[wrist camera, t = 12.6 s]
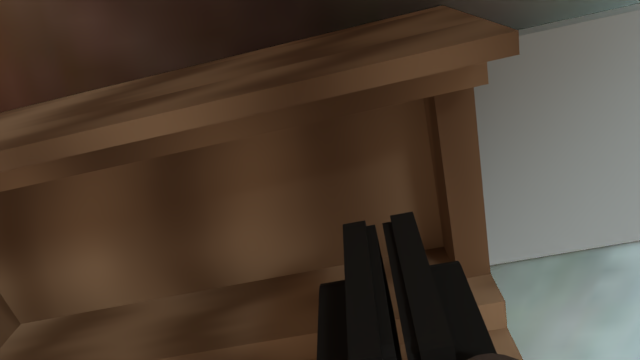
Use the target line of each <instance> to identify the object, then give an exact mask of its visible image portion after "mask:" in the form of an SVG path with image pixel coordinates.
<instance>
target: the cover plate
mask: <svg viewBox="0 0 640 360" xmlns="http://www.w3.org/2000/svg"><path fill="white" fill-rule="evenodd" d="M519 52H520V55H515V56H511V57H506V58H502V59H498V60H493V61H489V62H487V70H488V83H489V84H486V85H481V86H477V87H474V96H475V107H476V118H477V129H478V140H479V151H480V162H481V173H482V184H483V196H484V207H485V218H486V229H487V240H488V251H489V262H490V265H496V264H502V263H508V262H514V261H520V260H526V259H532V258H538V257H544V256H550V255H556V254H562V253H568V252H574V251H580V250H586V249H592V248H598V247H604V246H610V245H616V244H622V243H628V242H634V241H640V3H639V4H634V5H630V6H625V7H620V8H616V9H611V10H607V11H602V12H598V13H593V14H589V15H584V16H580V17H575V18H571V19H566V20H561V21H557V22H552V23H548V24H543V25H539V26H534V27H530V28H525V29H521V30H519Z"/></svg>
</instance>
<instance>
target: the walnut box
mask: <svg viewBox="0 0 640 360" xmlns="http://www.w3.org/2000/svg"><path fill="white" fill-rule="evenodd" d="M515 55H520V52H519V30H516V29H513V28H510V27H507V26H504V25H501V24H498V23H495V22H492V21H489V20H486V19H483V18H480V17H477V16H474V15H471V14H468V13H465V12H462V11H459V10H456V9H453V8H449V7H446V6H443V5H441V6H437V7H433V8H429V9H425V10H421V11H417V12H413V13H408V14H404V15H400V16H396V17H392V18H388V19H384V20H380V21H375V22H371V23H367V24H363V25H359V26H355V27H351V28H347V29H343V30H338V31H334V32H330V33H326V34H322V35H318V36H314V37H310V38H306V39H301V40H297V41H293V42H289V43H285V44H281V45H277V46H273V47H269V48H264V49H260V50H256V51H252V52H248V53H244V54H240V55H236V56H232V57H227V58H223V59H219V60H215V61H211V62H207V63H203V64H199V65H194V66H190V67H186V68H182V69H178V70H174V71H170V72H166V73H162V74H157V75H153V76H149V77H145V78H141V79H137V80H133V81H129V82H125V83H120V84H116V85H112V86H108V87H104V88H100V89H96V90H92V91H88V92H83V93H79V94H75V95H71V96H67V97H63V98H59V99H55V100H51V101H46V102H42V103H38V104H34V105H30V106H26V107H22V108H18V109H14V110H9V111H5V112H1V113H0V360H317V334H318V306H319V286H320V284H323V283H329V282H335V281H341V280H345V272H344V248H343V224H347V223H353V222H358V221H364V220H365V222H366V226H370V225H375V227H376V231H377V236H378V241H379V245H380V250H381V255H382V259H383V264H384V269H385V273H386V278H387V283H388V287H389V292H390V297H391V301H392V306H393V311H394V316H395V321H396V327H397V333H398V339H399V345H400V350H401V356H402V360H408V359H407V354H406V349H405V344H404V339H403V333H402V328H401V322H400V317H399V312H398V306H397V301H396V295H395V290H394V284H393V279H392V274H391V268H390V263H389V257H388V252H387V247H386V241H385V236H384V230H383V225H382V223H386V222H391V219H390V216H391V215H396V214H401V213H407V212H413V214H414V217H415V220H416V223H417V227H418V230H419V233H420V236H421V240H422V243H423V246H424V249H425V253H426V256H427V259H428V262H429V265H435V264H441V263H446V262H452V261H459V262H460V264H461V266H462V269H463V271H464V274H465V276H466V278H467V281H468V283H469V286H470V288H471V291H472V293H473V296H474V298H475V301H476V303H477V305H478V308H479V310H480V313H481V315H482V318H483V320H484V323H485V325H486V328H487V330H488V332H489V335H490V337H491V340H492V342H493V345H494V347H495V350H496V352H497V354H502V355H507V356H510V357H512V358H515V359H518V360H523V359H522V357H521V355H520V353H519V351H518V349H517V347H516V345H515V343H514V341H513V339H512V337H511V335H510V333H509V330H508V328H507V320H506V307H505V300H504V298H503V296H502V295H501V293H500V291H499V289H498V287H497V285H496V283H495V281H494V279H493V278H492V276H491V273H490V262H489V251H488V240H487V229H486V218H485V207H484V196H483V184H482V173H481V162H480V151H479V140H478V129H477V118H476V107H475V96H474V87H477V86H481V85H486V84H489V83H488V70H487V62H489V61H493V60H498V59H502V58H506V57H511V56H515Z"/></svg>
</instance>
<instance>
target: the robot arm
mask: <svg viewBox="0 0 640 360" xmlns="http://www.w3.org/2000/svg"><path fill="white" fill-rule="evenodd" d="M390 219H391V222H386V223H382V225H383V230H384V236H385V241H386V247H387V252H388V257H389V263H390V268H391V274H392V279H393V284H394V290H395V295H396V301H397V306H398V312H399V317H400V322H401V328H402V333H403V339H404V344H405V349H406V354H407V359H408V360H518V359H515V358H512V357H510V356H507V355H502V354H497V352H496V350H495V347H494V345H493V342H492V340H491V337H490V335H489V332H488V330H487V328H486V325H485V323H484V320H483V318H482V315H481V313H480V310H479V308H478V305H477V303H476V301H475V298H474V296H473V293H472V291H471V288H470V286H469V283H468V281H467V278H466V276H465V274H464V271H463V269H462V266H461V264H460V262H459V261H452V262H446V263H441V264H435V265H429V262H428V259H427V256H426V253H425V249H424V246H423V243H422V240H421V236H420V233H419V230H418V227H417V223H416V220H415V217H414V214H413V212H407V213H401V214H396V215H391V216H390ZM343 248H344V272H345V280H341V281H335V282H329V283H323V284H320V286H319V306H318V334H317V360H402V356H401V350H400V345H399V339H398V333H397V327H396V321H395V316H394V311H393V306H392V301H391V297H390V292H389V287H388V283H387V278H386V273H385V269H384V264H383V259H382V255H381V250H380V245H379V241H378V236H377V231H376V227H375V225H370V226H366V222H365V220H364V221H358V222H353V223H347V224H343Z"/></svg>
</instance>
